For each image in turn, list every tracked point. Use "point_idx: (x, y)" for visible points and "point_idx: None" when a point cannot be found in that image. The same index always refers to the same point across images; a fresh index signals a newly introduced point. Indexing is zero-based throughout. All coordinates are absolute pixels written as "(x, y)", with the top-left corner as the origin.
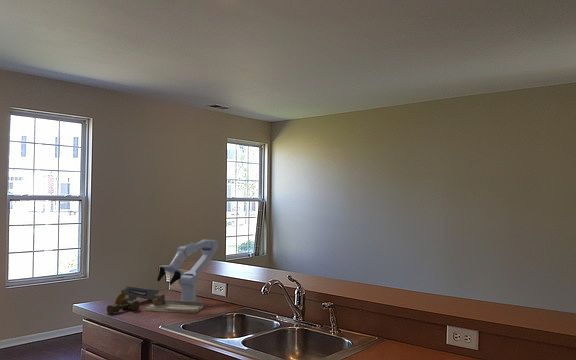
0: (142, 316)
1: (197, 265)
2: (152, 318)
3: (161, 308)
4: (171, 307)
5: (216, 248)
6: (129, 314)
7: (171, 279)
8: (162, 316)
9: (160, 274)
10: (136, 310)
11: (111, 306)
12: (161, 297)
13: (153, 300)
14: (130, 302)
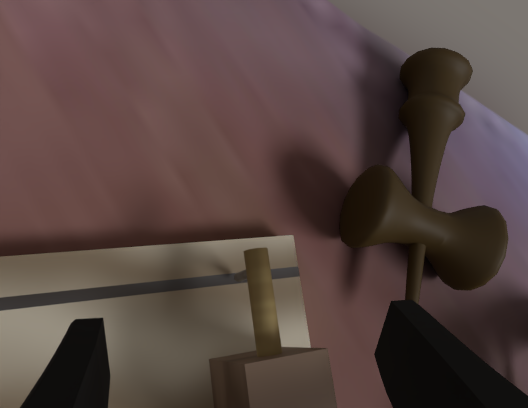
0: (190, 62)
1: None
2: (76, 14)
3: (136, 254)
4: (51, 335)
5: None
6: (310, 101)
7: (74, 383)
8: (20, 85)
9: (466, 385)
10: (340, 220)
11: (438, 48)
12: (238, 383)
13: (255, 249)
14: (425, 207)
